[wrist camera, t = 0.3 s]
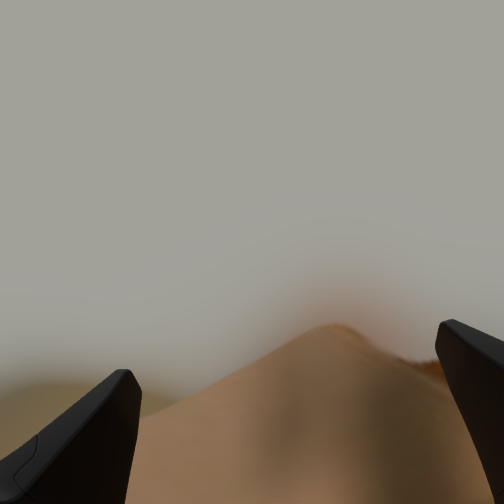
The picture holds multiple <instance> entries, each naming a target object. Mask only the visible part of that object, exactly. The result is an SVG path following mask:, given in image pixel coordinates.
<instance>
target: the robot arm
mask: <svg viewBox="0 0 504 504" xmlns="http://www.w3.org/2000/svg"><path fill="white" fill-rule="evenodd" d="M435 350H436V353H437V356H438V358H439V361H440V363H441V366H442V369H443V371H444V374H445V377H446V380H447V382H448V385H449V388H450V390H451V393H452V395H453V397H454V400H455V402H456V404H457V406H458V408H459V410H460V412H461V415H462V417H463V419H464V421H465V424H466V426H467V428H468V431H469V433H470V435H471V438H472V440H473V443H474V445H475V448H476V450H477V453H478V455H479V458H480V460H481V463H482V466H483V469H484V471H485V474H486V477H487V480H488V483H489V486H490V489H491V492H492V495H493V498H494V502H495V504H504V341H501V340H499V339H497V338H495V337H493V336H490V335H488V334H486V333H484V332H481V331H479V330H477V329H475V328H472V327H470V326H468V325H466V324H463V323H461V322H459V321H456V320H454V319H450V320H446V321H443V322H441V323H440V325H439V328H438V333H437V338H436V342H435ZM141 399H142V391H141V388H140V386H139V384H138V382H137V380H136V379H135V377H134V375H133V373H132V372H131V371H130V370H128V369H118V370H116V371H114V372H113V373H112V374H111V375H109V376H108V377H107V378H106V379H105V380H103V381H102V382H101V383H100V384H98V385H97V386H96V387H95V388H93V389H92V390H91V391H90V392H88V393H87V394H86V395H85V396H83V397H82V398H81V399H80V400H79V401H77V402H76V403H75V404H74V405H72V406H71V407H70V408H69V409H67V410H66V411H65V412H64V413H62V414H61V415H60V416H59V417H57V418H56V419H55V420H54V421H52V423H50V424H49V425H47V426H46V427H45V428H44V429H42V430H41V431H40V432H39V433H38V434H36V435H35V436H34V437H32V438H31V439H30V440H29V441H27V442H26V443H25V444H23V445H22V446H21V447H19V448H18V449H17V450H15V451H14V452H12V453H11V454H9V455H8V456H6V457H5V458H3V459H2V460H0V504H125V499H126V493H127V487H128V482H129V477H130V471H131V466H132V461H133V456H134V451H135V446H136V441H137V435H138V427H139V417H140V408H141Z"/></svg>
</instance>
